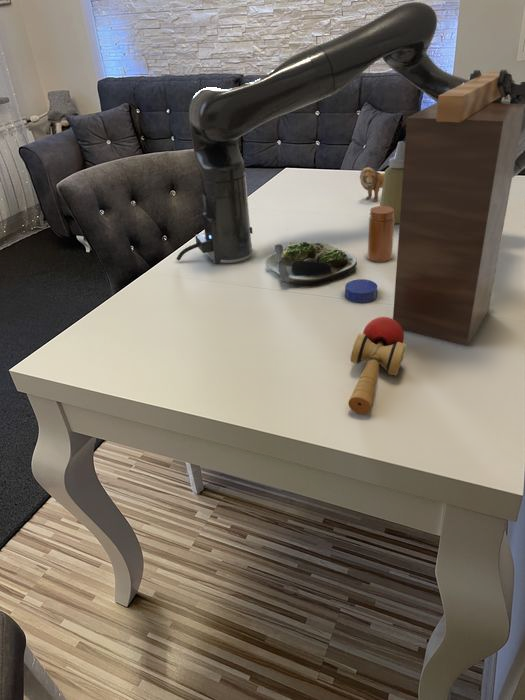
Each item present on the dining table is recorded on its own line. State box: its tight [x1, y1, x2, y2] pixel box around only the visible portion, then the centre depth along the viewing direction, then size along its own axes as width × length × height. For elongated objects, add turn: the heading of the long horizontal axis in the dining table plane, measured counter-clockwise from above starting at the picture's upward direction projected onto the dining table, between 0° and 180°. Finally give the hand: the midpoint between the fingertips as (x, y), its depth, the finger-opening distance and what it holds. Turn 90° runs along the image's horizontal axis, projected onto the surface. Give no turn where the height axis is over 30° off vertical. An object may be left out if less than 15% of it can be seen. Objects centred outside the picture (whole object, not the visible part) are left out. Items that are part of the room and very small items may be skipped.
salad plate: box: [264, 241, 358, 287], centre depth 109 cm, size 19×18×5 cm
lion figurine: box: [359, 166, 385, 203], centre depth 141 cm, size 15×5×9 cm, turn 118°
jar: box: [367, 205, 395, 263], centre depth 108 cm, size 5×5×10 cm
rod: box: [436, 71, 509, 123], centre depth 72 cm, size 22×3×3 cm, turn 146°
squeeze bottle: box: [379, 140, 405, 224], centre depth 124 cm, size 8×8×18 cm
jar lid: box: [344, 278, 378, 304], centre depth 97 cm, size 6×6×2 cm
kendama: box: [347, 316, 407, 415], centre depth 75 cm, size 8×6×18 cm
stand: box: [392, 102, 525, 347], centre depth 80 cm, size 12×12×32 cm
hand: (487, 77), depth 75 cm, fingers closed on rod, 3 cm apart
